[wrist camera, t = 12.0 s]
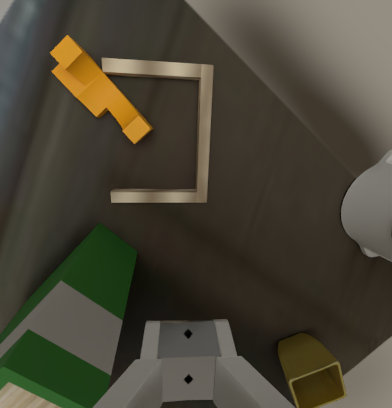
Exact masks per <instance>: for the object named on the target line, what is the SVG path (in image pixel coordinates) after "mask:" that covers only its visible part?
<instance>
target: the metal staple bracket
mask: <svg viewBox="0 0 392 408" xmlns="http://www.w3.org/2000/svg"><path fill="white" fill-rule="evenodd" d="M102 70H103V72H104V73H105V74H106V75H118V76H135V77H152V78H169V79H187V80H199V97H198V126H197V155H196V184H195V189H113V190H112V191H111V203H207V186H208V166H209V145H210V125H211V104H212V84H213V65H205V64H189V63H174V62H159V61H144V60H128V59H113V58H102Z"/></svg>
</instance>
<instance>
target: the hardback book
mask: <svg viewBox="0 0 392 408" xmlns="http://www.w3.org/2000/svg"><path fill="white" fill-rule="evenodd" d="M137 253H138V252H137V251H136V250H135V249H134V248H132V247H131V246H130V245H128V244H127V243H126V242H124V241H123V240H122V239H121V238H119V237H118V236H117V235H115V234H114V233H113V232H111V231H110V230H109V229H108V228H106V227H105V226H104V225H102V224H101V223H99V224H98V225H97V226H96V227H95V228H94V229H93V230H92V231H91V233H90V234H89V235H88V236H87V237H86V238H85V239H84V240H83V241H82V242H81V243H80V244H79V245H78V246H77V247H76V249H75V250H74V251H73V252H72V253H71V254H70V255H69V256H68V257H67V258H66V259H65V260H64V261H63V262H62V263H61V265H60V266H59V267H58V268H57V269H56V270H55V271H54V272H53V273H52V274H51V275H50V276H49V277H48V278H47V280H46V281H45V282H44V283H43V284H42V285H41V286H40V287H39V288H38V289H37V290H36V291H35V292H34V293H33V294H32V296H31V297H30V298H29V299H28V300H27V301H26V303H25V304H24V305H23V306H22V308H21V309H20V310H19V311H18V313H17V314H16V315H15V317H14V318H13V319H12V320H11V322H10V323H9V324H8V325H7V327H6V328H5V329H4V330H3V332H2V333H1V334H0V408H93V407H94V405H95V404H96V403H97V402H98V401H99V400H100V399H101V398H102V397H103V395H104V394H105V393H106V392H107V390H108V386H109V381H110V376H111V372H112V367H113V363H114V358H115V354H116V349H117V344H118V340H119V335H120V331H121V326H122V322H123V317H124V312H125V308H126V303H127V299H128V294H129V289H130V285H131V280H132V276H133V271H134V267H135V262H136V257H137Z"/></svg>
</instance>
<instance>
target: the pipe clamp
mask: <svg viewBox="0 0 392 408" xmlns="http://www.w3.org/2000/svg"><path fill="white" fill-rule="evenodd" d="M50 54H51V55H52V56H53V57H54V58H55V59H56V60H57V61H58V62H59V64H58V66H57V67H56V68H55V69H54V70H53V71H52V73H53V74H54V75H55V76H56V77H57V78H58V79H59V80H60V81H61V82H62V83H63V84H64V85H65V86H66V87H67V88H68V89H69V90H70V92H71V93H72V94H73V95H74V96H75V97H76V98H77V99H78V100H80V101H81V102H82V103H83V104H84V105H85V106H86V107H87V108H88V109H89V110H90V111H91V112H92V113H93V114H94V115H95V116H96V117H100V118H101V117H102V116H103V115H104V114H105V113H106V112H107V111H108V110H109V111H110V112H111V113H112V115H113V116H114V117H115V118H116V120H117V121H118V122H119V124H120V125H121V127H122V129H123V132H124V133H125V134H126V136H127V137H128V138H129V139H130V140H131V141H132V142H133V143H134V144H135V143H137V142H139V141H140V140H141V139H142V138H143V137H144V136H146V135H147V134H148V133H149V132H150V131H151V130H152V129H153V127H152V126H151V125H150V124H149V123H148V122H147V121H146V120H145V118H144V117H143V116H142V115H141V114H140V113H139V112H138V110H137V109H136V108H135V107H134V106H133V105H132V104H131V102H130V101H129V100H128V99H127V98H126V97H125V96H124V94H123V93H122V92H121V91H120V90H119V89H118V88H117V87H116V85H115V84H114V83H113V82H112V81H111V80H110V79H109V77H108V76H107V75H106V74H105V73H104V72H103V71H102V69H101V68H100V67H99V66H98V65H97V64H96V63H95V62H94V60H93V59H92V58H91V57H90V56H89V55H88V54H87V52H86V51H85V50H83V49H82V48H81V47H80V46H79V45H78V44H77V43H76V42H75V41H74V40H73V39H72V38H71V37H69V36H68V35H67V36H66V37H65V38H64V39H63V40H62V41H61V42H60V43H59V44H58V45H57V46H56V47H55V48H54V49H53V50H52V51H51V52H50Z"/></svg>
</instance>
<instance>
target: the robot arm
mask: <svg viewBox="0 0 392 408" xmlns="http://www.w3.org/2000/svg"><path fill="white" fill-rule="evenodd" d="M341 220H342V224H343V227H344V229H345V231H346V233H347V234H348V235H349V236H350V237H351V238H352V239H354V240H355V241H356V242H357V243H358V244H359V246H360V248H361V251H362V252H363V254H364V255H366V256H368V257H376V256H381V257H383V258H385V259H387V260H389V261H391V262H392V149H390V150H389V151H388V152H387V153H386V154H385V155H384V157H383V158H382V159H381V160H380V161H379V162H378V163H377V164H376V165H374V166H373V167H371V168H369V169H368V170H366V171H365V172H364V173H362V174H361V175H360V176H359V177H358V178H357V179H356V180H355V181H354V182H353V183H352V185H351V186H350V188H349V189H348V191H347V193H346V195H345V197H344V200H343V203H342V208H341ZM180 400H213V402H214V403H215V405H216V406H217V408H295V407H294V406H293V405H292V404H291V403H290V402H289V401H288V400H287V399H286V398H285V397H283V396H282V395H281V394H280V393H279V392H278V391H277V390H276V389H275V388H274V387H273V386H272V385H271V384H270V383H269V382H268V381H267V380H266V379H265V378H264V377H263V376H262V375H261V374H260V373H259V372H258V371H256V370H255V369H254V368H253V367H252V366H251V365H250V364H249V363H248V362H247V361H246V360H245V359H244V358H243V357H242V356H237V353H236V349H235V345H234V341H233V338H232V334H231V330H230V326H229V322H228V320H227V319H218V320H193V321H147V322H146V325H145V331H144V337H143V343H142V350H141V356H140V359H138V360H135V361H134V362H133V363H132V364H131V365H130V366H129V368H128V369H127V370H126V371H125V372H124V373H123V374H122V375H121V376H120V378H119V379H118V380H117V381H116V382H115V383H114V384H113V385H112V387H111V388H110V389H109V390H108V391H107V392H106V393H105V394H104V395H103V397H102V398H101V399H100V400H99V401H98V402H97V403H96V404H95V405H94V407H93V408H160V407H161V405H162V402H168V401H180Z"/></svg>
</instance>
